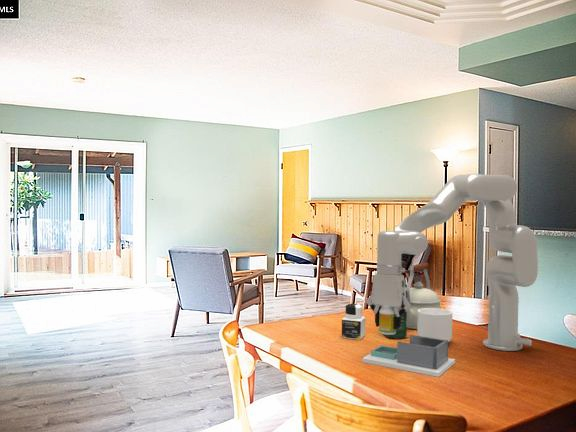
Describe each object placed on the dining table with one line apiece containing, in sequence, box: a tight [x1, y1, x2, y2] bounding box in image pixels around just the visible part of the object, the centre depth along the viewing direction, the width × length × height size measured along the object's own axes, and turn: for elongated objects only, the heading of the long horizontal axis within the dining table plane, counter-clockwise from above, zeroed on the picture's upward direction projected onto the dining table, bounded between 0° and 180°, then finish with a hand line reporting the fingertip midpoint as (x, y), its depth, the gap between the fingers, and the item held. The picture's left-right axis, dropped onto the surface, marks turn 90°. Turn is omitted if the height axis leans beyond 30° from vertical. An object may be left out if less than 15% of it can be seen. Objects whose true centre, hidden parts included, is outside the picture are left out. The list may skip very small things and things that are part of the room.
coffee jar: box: [383, 291, 408, 340], centre depth 196 cm, size 10×8×19 cm
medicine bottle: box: [341, 303, 366, 341], centre depth 194 cm, size 7×7×12 cm
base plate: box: [361, 345, 456, 378], centre depth 164 cm, size 24×16×3 cm, turn 56°
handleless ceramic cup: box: [416, 308, 453, 343], centre depth 188 cm, size 12×12×11 cm
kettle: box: [405, 262, 442, 330], centre depth 212 cm, size 25×18×25 cm
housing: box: [396, 334, 449, 369], centre depth 161 cm, size 12×11×6 cm
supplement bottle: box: [378, 305, 396, 335], centre depth 167 cm, size 5×5×10 cm
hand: (387, 326), depth 167 cm, fingers closed on supplement bottle, 5 cm apart
